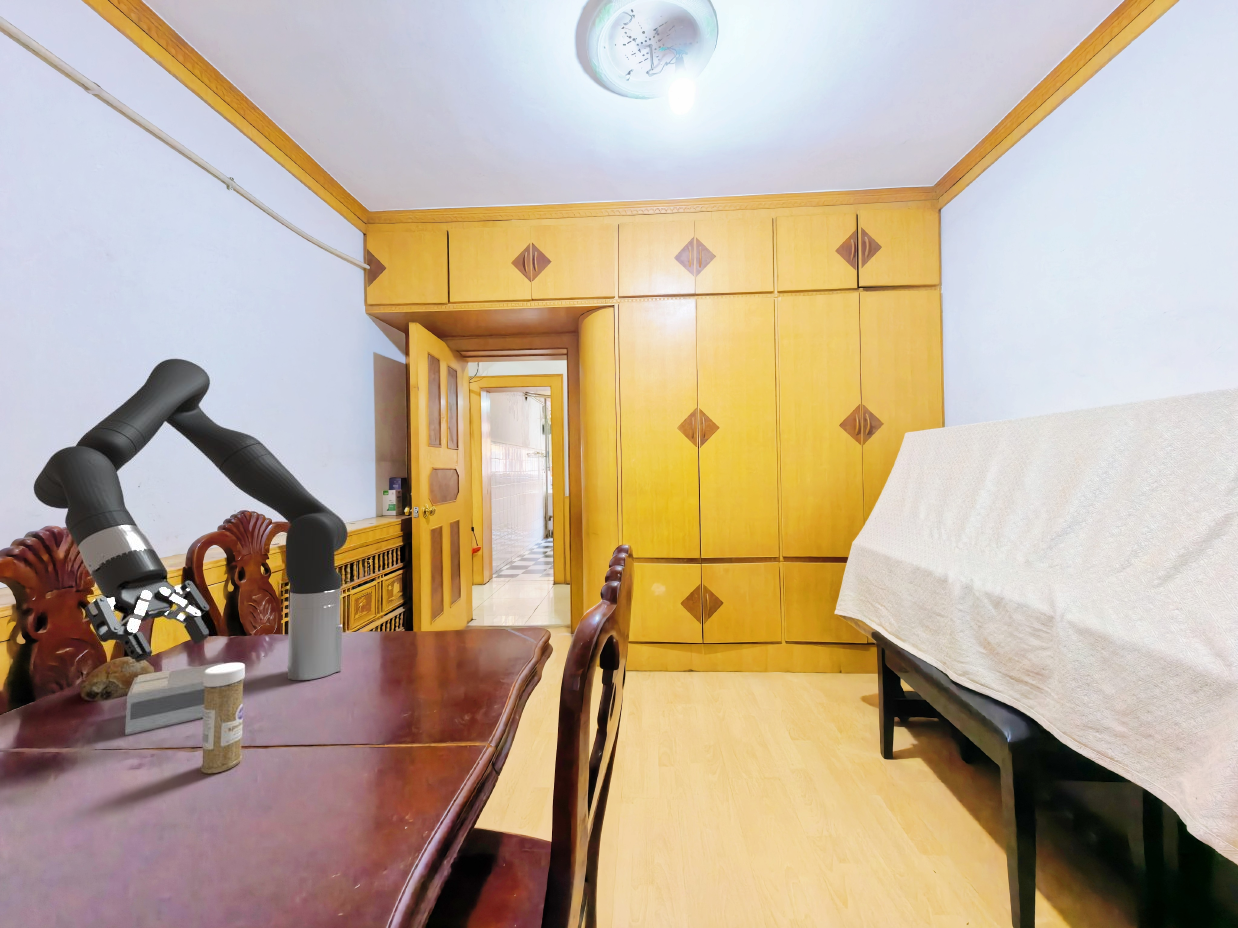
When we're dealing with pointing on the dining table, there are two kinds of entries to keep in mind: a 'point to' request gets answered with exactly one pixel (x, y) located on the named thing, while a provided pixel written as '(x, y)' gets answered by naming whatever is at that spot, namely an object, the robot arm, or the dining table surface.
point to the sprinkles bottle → (222, 717)
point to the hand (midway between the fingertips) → (175, 648)
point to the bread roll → (113, 679)
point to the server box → (165, 698)
